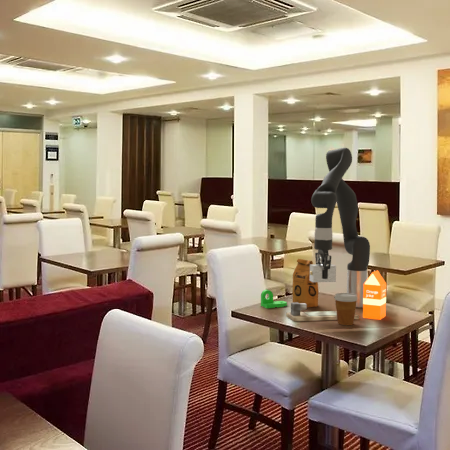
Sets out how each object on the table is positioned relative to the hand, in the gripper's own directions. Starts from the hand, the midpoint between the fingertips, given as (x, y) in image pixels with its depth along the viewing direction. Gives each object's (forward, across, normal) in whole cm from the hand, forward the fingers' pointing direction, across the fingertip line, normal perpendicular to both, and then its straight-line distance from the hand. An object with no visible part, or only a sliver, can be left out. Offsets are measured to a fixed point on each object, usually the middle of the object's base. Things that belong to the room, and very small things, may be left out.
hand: (322, 277), depth 250 cm
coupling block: (+1, 0, 0) cm, 1 cm away
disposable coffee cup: (+17, +13, +5) cm, 22 cm away
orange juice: (+17, +2, +23) cm, 29 cm away
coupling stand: (+17, 0, 0) cm, 17 cm away
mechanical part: (+18, -27, -14) cm, 35 cm away
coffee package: (+17, -28, +2) cm, 33 cm away
